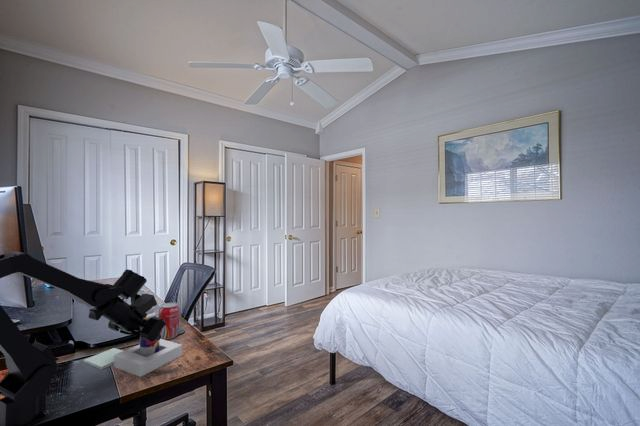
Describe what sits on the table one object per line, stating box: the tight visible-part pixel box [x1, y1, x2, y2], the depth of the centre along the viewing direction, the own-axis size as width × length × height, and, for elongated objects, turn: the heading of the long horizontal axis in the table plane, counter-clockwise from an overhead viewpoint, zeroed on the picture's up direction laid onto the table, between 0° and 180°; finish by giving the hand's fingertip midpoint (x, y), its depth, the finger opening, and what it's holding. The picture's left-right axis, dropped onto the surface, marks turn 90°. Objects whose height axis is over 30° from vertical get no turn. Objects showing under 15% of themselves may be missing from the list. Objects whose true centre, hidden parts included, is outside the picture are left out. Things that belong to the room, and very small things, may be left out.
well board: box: [113, 339, 183, 377], centre depth 92 cm, size 14×12×4 cm
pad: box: [83, 347, 124, 370], centre depth 92 cm, size 9×9×1 cm
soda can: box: [157, 301, 180, 341], centre depth 110 cm, size 7×7×12 cm
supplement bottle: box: [143, 306, 157, 320], centre depth 113 cm, size 5×5×10 cm
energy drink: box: [139, 328, 159, 357], centre depth 92 cm, size 5×5×12 cm
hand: (154, 336), depth 93 cm, fingers closed on energy drink, 5 cm apart
